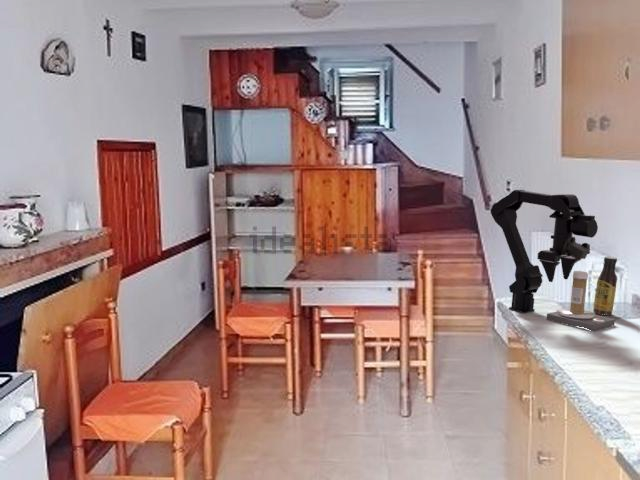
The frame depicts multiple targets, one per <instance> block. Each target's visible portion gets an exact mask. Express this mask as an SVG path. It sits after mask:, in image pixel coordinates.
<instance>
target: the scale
mask: <svg viewBox="0 0 640 480" xmlns="http://www.w3.org/2000/svg"><path fill="white" fill-rule="evenodd" d="M545 320H547V321H550V322H554V323H557V322H558V323H557V324H561V323H563V324H562V325H565V324H568V325H567V326H569V325H573V326H579V327H584V328H587V329H589V330H591V331H590V332H592V331H593V332H596V331H600V330H602V329H607V328H609V327H610V328H611V327H613V326H612V325H614V326H615V322H616V319H615V318H611V317H606V316H604V315H599V314H594V319H591V320H578V319H571V318H566V317H562V316H560V315H558V314H557V311H554V312H553V311H552V312H548V313H546V319H545ZM573 326H572V327H573ZM589 330H588V331H589Z"/></svg>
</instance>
